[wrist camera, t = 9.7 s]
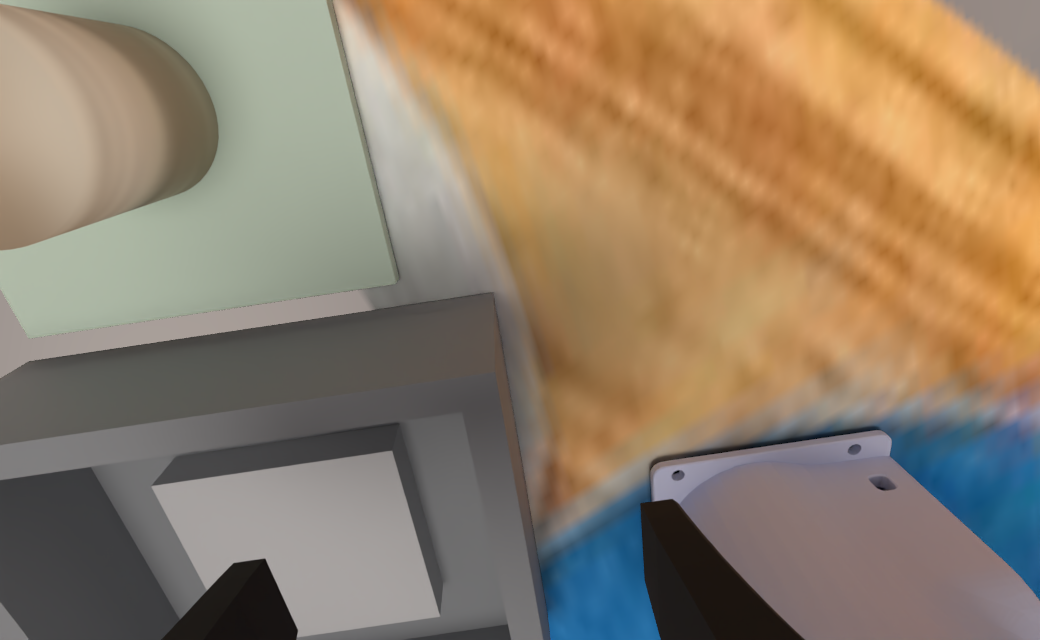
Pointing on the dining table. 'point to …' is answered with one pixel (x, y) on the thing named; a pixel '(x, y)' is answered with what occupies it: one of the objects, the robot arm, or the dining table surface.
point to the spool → (93, 123)
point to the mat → (226, 181)
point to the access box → (274, 481)
